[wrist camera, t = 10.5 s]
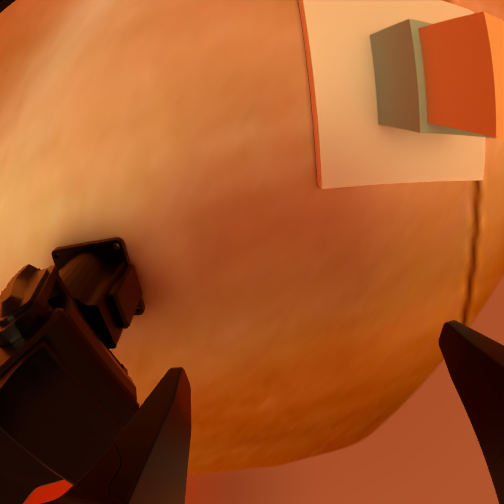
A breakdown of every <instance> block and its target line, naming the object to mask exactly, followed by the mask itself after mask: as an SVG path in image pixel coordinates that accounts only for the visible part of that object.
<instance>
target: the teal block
mask: <svg viewBox="0 0 504 504" xmlns="http://www.w3.org/2000/svg"><path fill="white" fill-rule="evenodd" d="M428 25H431V23H427V22H423V21H418V20H413V19H407V20H404V21H402V22H399V23H397V24H394V25H392V26H390V27H387V28H385V29H382V30H380V31H378V32H376V33H373V34H371V35H370V42H371V49H372V57H373V65H374V75H375V85H376V97H377V112H378V125H384V126H389V127H394V128H399V129H404V130H409V131H414V132H418V133H433V134H451V135H465V136H476V137H486V138H493V137H489V136H486V135H482V134H478V133H474V132H469V131H465V130H461V129H456V128H451V127H446V126H441V125H436V124H431V123H427V107H426V91H425V79H424V68H423V60H422V52H421V44H420V38H419V31H418V28H421V27H424V26H428ZM495 139H497V138H495Z"/></svg>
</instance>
